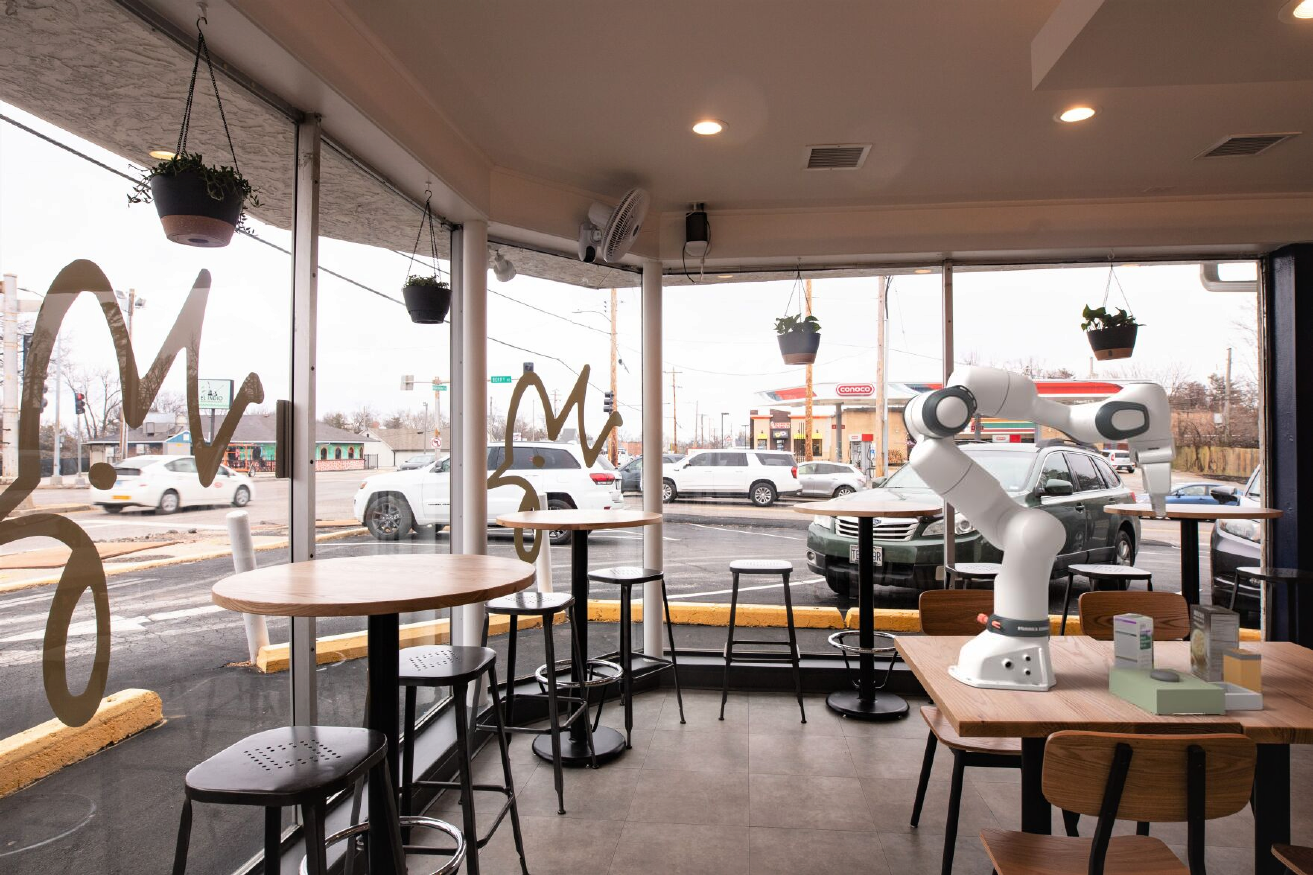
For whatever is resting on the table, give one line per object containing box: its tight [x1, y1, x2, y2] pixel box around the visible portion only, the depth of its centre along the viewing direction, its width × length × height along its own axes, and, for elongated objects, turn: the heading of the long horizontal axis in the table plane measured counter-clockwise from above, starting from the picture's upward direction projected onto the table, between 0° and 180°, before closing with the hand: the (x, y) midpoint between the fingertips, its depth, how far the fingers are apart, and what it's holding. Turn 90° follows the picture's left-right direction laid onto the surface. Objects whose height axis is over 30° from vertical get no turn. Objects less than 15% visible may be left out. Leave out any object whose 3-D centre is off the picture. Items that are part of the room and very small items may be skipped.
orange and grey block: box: [1223, 648, 1262, 694], centre depth 160 cm, size 5×5×9 cm
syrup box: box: [1113, 613, 1155, 669], centre depth 169 cm, size 6×6×14 cm
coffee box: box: [1189, 604, 1240, 682], centre depth 171 cm, size 9×6×16 cm
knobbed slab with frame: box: [1108, 668, 1264, 716], centre depth 153 cm, size 24×14×6 cm, turn 93°
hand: (1159, 513), depth 169 cm, fingers open, 8 cm apart
